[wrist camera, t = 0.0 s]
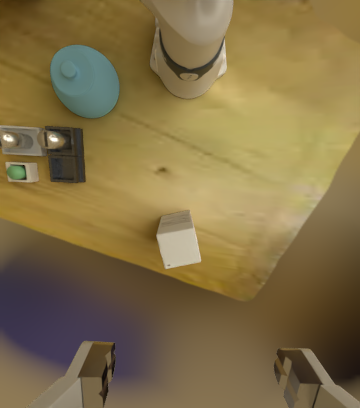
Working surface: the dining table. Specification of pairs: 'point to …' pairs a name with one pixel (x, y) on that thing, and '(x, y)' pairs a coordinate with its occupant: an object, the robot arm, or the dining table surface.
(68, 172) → the dark two-compartment tray
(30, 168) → the box
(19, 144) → the cylinder
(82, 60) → the sugar bowl
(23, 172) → the button
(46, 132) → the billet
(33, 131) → the tote
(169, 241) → the supplement box
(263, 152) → the dining table surface
